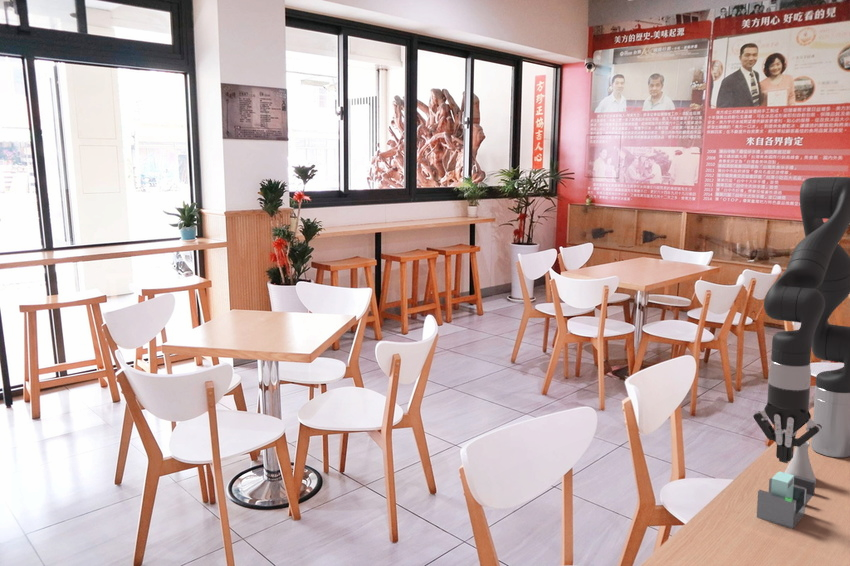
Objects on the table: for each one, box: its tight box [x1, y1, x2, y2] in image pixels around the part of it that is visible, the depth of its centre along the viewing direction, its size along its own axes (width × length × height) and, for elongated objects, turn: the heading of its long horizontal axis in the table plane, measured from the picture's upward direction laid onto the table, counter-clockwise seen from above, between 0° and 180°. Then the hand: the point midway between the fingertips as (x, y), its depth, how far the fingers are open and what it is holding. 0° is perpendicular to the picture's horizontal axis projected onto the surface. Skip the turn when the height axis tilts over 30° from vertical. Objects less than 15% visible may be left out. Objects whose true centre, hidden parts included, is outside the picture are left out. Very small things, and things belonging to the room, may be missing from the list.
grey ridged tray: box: [791, 474, 816, 506], centre depth 147 cm, size 8×5×4 cm, turn 135°
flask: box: [784, 440, 817, 486], centre depth 154 cm, size 7×7×10 cm
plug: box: [771, 470, 794, 499], centre depth 139 cm, size 4×3×8 cm
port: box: [756, 477, 806, 530], centre depth 139 cm, size 8×7×7 cm
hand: (784, 461), depth 138 cm, fingers closed
